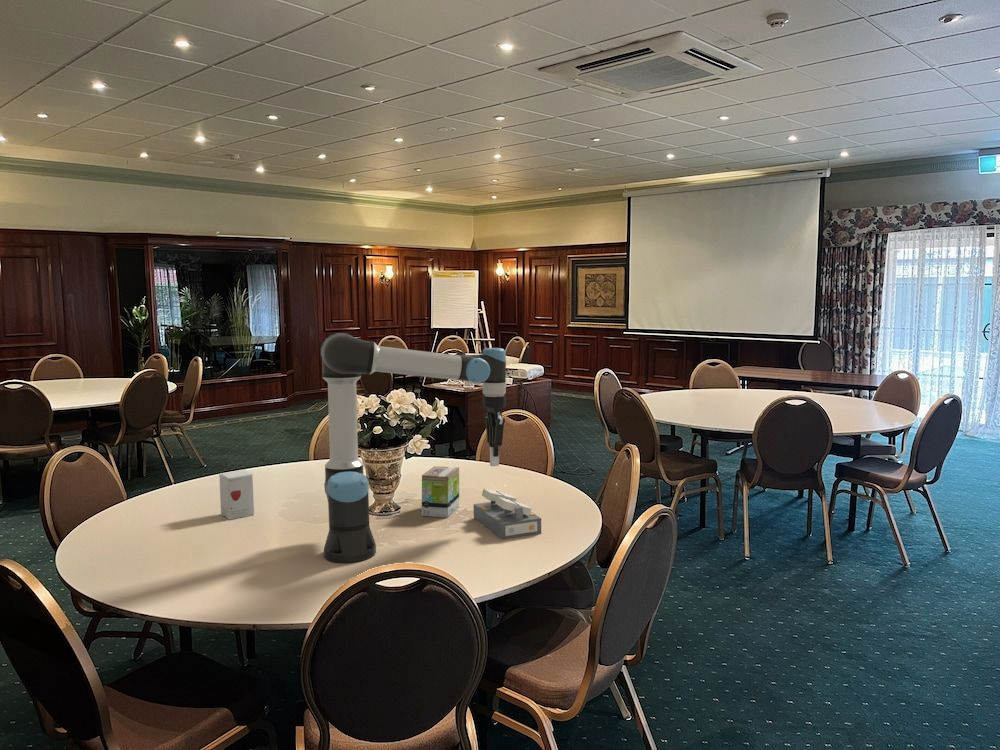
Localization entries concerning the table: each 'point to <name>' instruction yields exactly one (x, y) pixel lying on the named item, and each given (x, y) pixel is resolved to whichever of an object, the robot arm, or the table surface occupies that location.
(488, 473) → the table surface
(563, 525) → the table surface
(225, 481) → the supplement box
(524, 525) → the switch unit
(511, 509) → the rocker
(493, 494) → the rocker
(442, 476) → the tea box
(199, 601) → the table surface
